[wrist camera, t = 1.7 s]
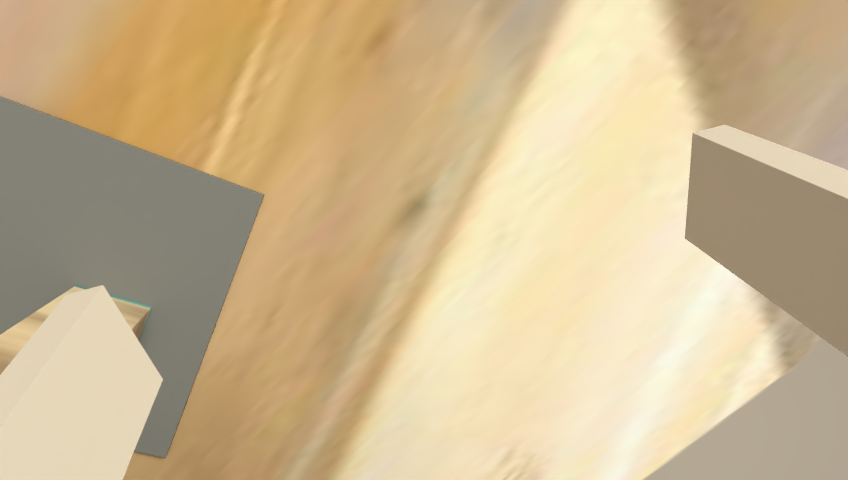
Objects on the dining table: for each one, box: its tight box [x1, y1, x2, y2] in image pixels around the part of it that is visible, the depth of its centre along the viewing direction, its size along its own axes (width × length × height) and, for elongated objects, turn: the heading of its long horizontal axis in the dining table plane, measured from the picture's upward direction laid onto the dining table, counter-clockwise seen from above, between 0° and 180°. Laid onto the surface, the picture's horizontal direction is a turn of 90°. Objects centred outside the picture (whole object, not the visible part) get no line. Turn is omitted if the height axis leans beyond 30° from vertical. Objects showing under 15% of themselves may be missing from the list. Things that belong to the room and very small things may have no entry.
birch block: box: [0, 285, 152, 375], centre depth 30 cm, size 5×5×11 cm
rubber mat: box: [0, 96, 264, 458], centre depth 33 cm, size 22×28×1 cm
